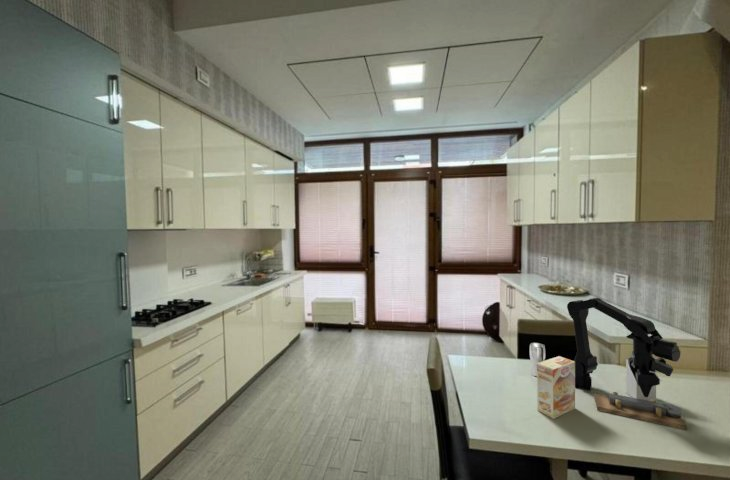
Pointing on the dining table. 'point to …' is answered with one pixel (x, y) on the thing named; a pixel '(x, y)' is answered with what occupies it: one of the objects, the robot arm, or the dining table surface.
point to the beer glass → (536, 356)
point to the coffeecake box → (556, 386)
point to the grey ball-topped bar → (645, 405)
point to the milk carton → (633, 387)
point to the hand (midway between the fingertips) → (642, 391)
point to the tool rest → (636, 412)
